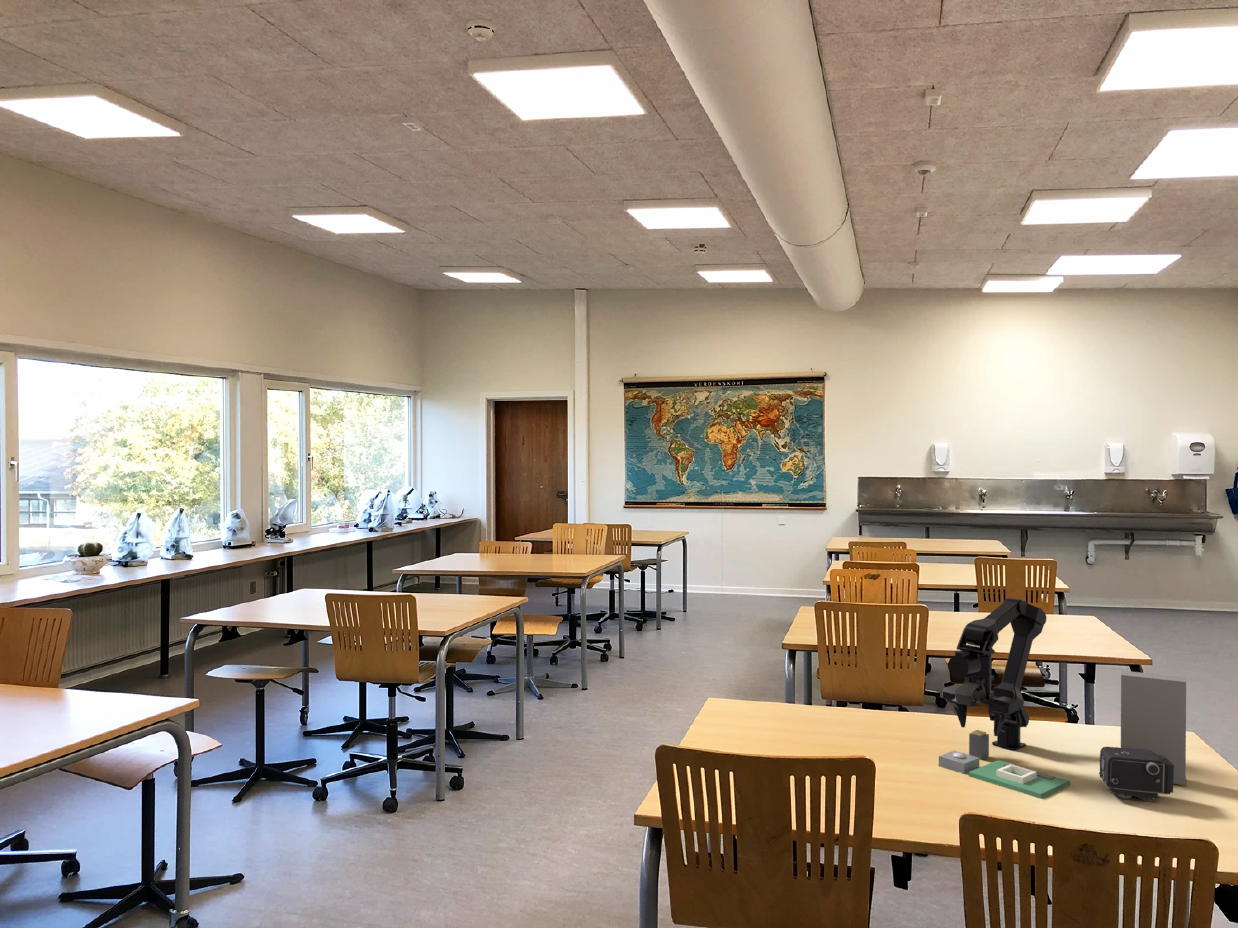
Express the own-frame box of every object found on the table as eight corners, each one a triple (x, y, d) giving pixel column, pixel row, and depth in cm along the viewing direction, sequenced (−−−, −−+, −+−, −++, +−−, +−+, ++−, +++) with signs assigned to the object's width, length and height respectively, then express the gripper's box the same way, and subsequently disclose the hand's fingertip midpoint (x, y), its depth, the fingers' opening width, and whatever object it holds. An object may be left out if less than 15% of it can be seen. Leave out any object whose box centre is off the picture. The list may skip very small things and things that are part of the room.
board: (998, 763, 228) (998, 753, 228) (1069, 784, 213) (1069, 774, 213) (968, 775, 219) (968, 765, 219) (1040, 798, 205) (1040, 787, 205)
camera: (1110, 807, 202) (1181, 807, 199) (1105, 759, 202) (1176, 758, 199) (1097, 790, 212) (1166, 790, 209) (1093, 744, 212) (1161, 743, 209)
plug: (976, 753, 235) (976, 728, 235) (988, 757, 233) (988, 732, 233) (969, 756, 233) (969, 731, 233) (981, 760, 231) (981, 734, 230)
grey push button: (954, 759, 230) (954, 748, 230) (979, 767, 225) (979, 755, 225) (938, 765, 226) (938, 753, 226) (964, 773, 221) (964, 761, 221)
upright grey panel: (1185, 778, 217) (1186, 676, 217) (1186, 786, 212) (1187, 682, 212) (1120, 768, 224) (1120, 669, 224) (1119, 776, 219) (1120, 674, 219)
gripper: (930, 669, 235) (929, 728, 235) (997, 684, 220) (996, 747, 221) (953, 663, 242) (953, 720, 242) (1020, 677, 227) (1019, 738, 228)
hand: (979, 731), depth 233 cm, fingers open, 9 cm apart
